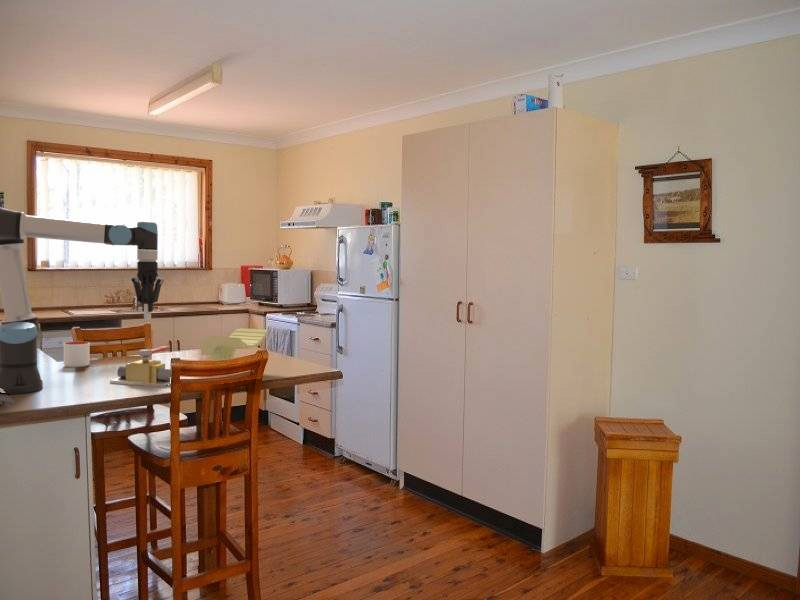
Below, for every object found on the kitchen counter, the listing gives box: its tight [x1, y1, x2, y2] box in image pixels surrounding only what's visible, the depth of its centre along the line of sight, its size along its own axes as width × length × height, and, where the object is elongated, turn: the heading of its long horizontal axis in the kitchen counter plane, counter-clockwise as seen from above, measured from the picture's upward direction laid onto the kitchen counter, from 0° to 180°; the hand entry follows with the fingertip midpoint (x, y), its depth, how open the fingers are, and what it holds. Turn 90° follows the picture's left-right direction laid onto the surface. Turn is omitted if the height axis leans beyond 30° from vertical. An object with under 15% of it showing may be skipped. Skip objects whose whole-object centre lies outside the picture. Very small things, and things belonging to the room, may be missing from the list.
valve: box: [109, 356, 172, 388], centre depth 241 cm, size 22×12×10 cm, turn 80°
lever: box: [139, 345, 171, 357], centre depth 247 cm, size 17×4×2 cm, turn 170°
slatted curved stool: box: [200, 327, 269, 361], centre depth 262 cm, size 30×16×18 cm, turn 171°
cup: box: [63, 341, 91, 368], centre depth 270 cm, size 10×10×10 cm
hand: (147, 319), depth 251 cm, fingers closed
